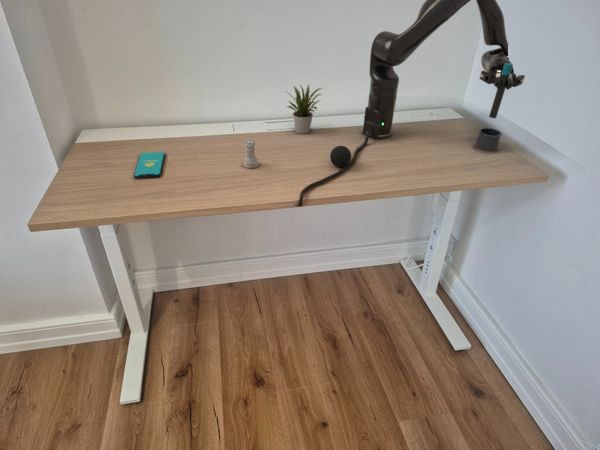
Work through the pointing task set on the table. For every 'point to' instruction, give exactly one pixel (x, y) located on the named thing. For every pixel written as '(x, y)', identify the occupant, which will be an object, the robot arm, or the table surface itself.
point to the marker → (501, 90)
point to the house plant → (303, 110)
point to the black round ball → (340, 156)
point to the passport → (149, 165)
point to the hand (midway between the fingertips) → (503, 85)
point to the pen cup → (488, 139)
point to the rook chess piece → (250, 155)
